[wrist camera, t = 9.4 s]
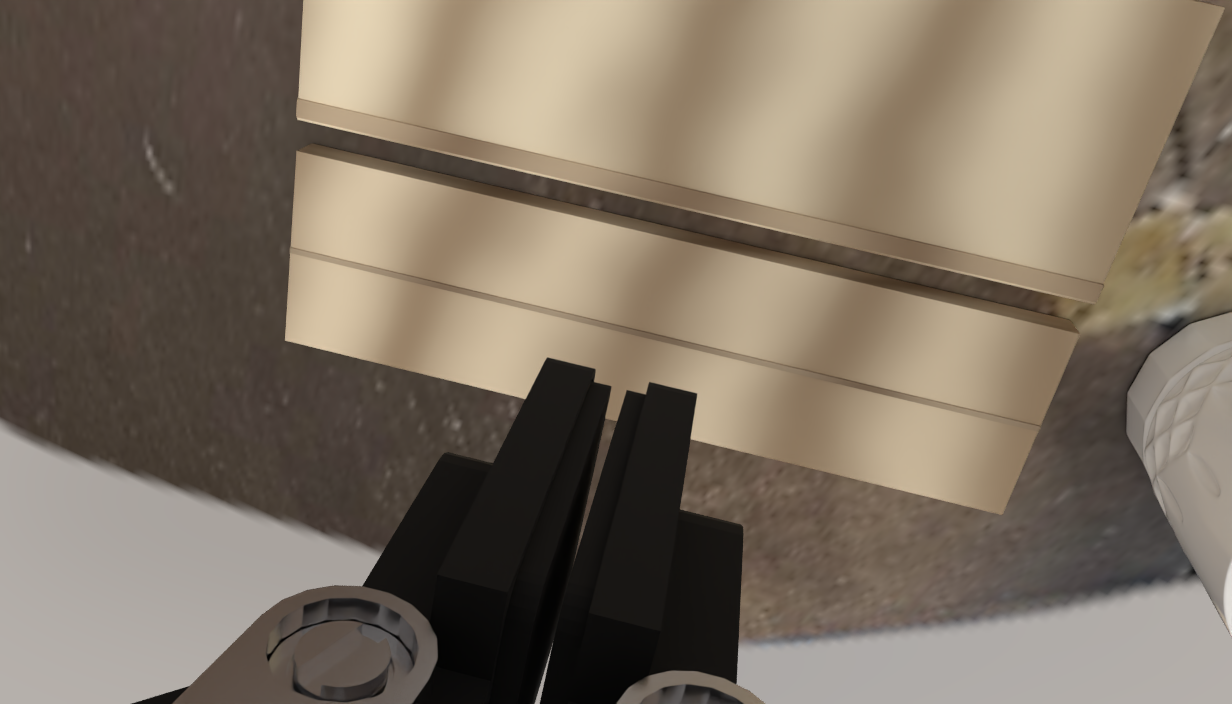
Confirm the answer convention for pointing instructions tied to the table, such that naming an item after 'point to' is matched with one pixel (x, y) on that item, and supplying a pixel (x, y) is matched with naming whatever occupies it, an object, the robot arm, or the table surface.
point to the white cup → (1191, 446)
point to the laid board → (672, 325)
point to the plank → (796, 111)
